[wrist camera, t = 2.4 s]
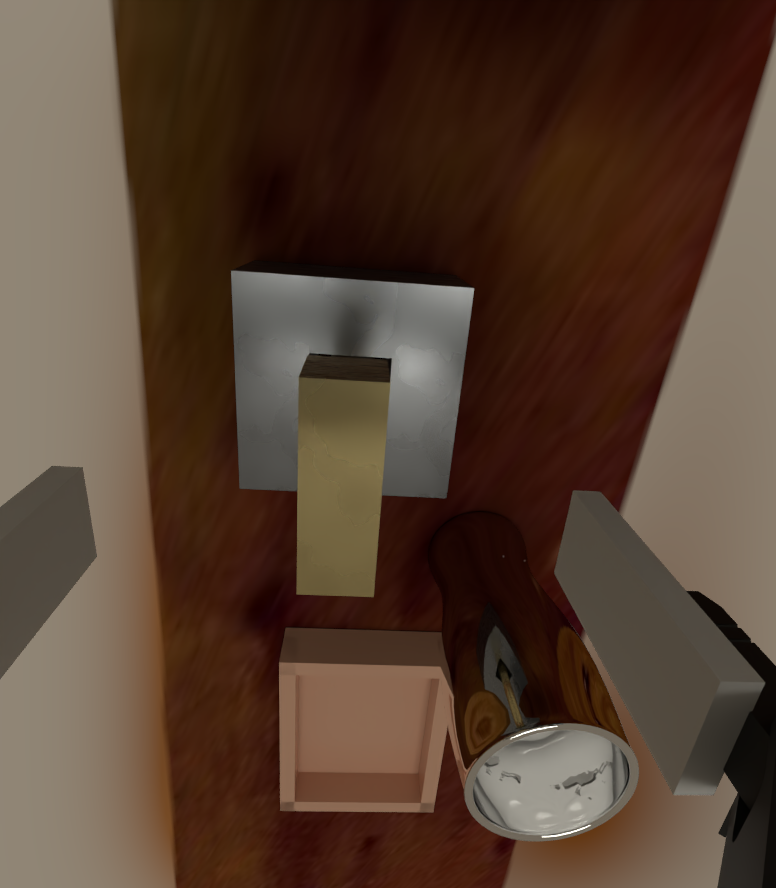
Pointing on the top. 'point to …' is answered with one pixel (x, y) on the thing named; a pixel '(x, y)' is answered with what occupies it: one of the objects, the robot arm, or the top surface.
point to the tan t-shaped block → (340, 472)
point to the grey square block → (352, 334)
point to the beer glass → (522, 692)
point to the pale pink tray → (360, 720)
